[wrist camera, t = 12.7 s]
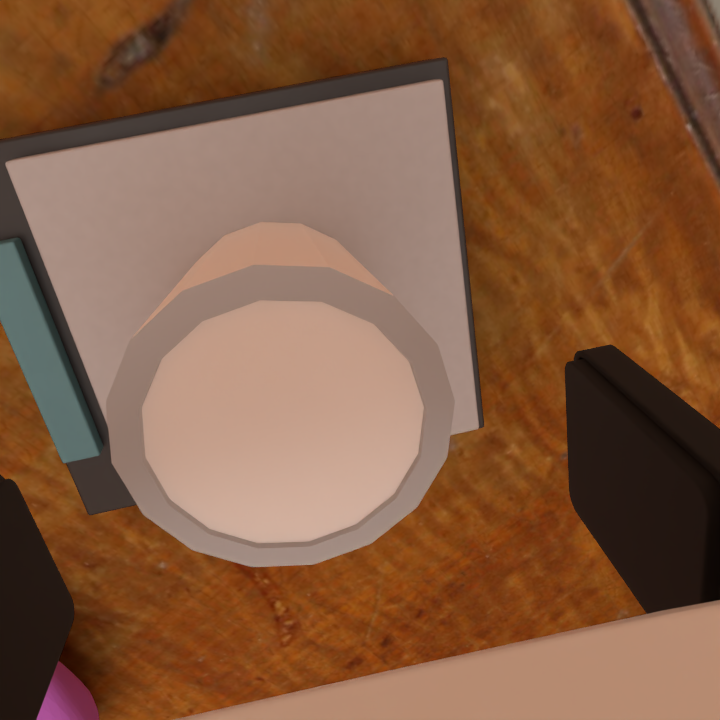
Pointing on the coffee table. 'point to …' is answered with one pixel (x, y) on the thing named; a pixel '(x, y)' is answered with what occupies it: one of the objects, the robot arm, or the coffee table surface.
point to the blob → (67, 698)
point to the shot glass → (279, 403)
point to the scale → (224, 228)
